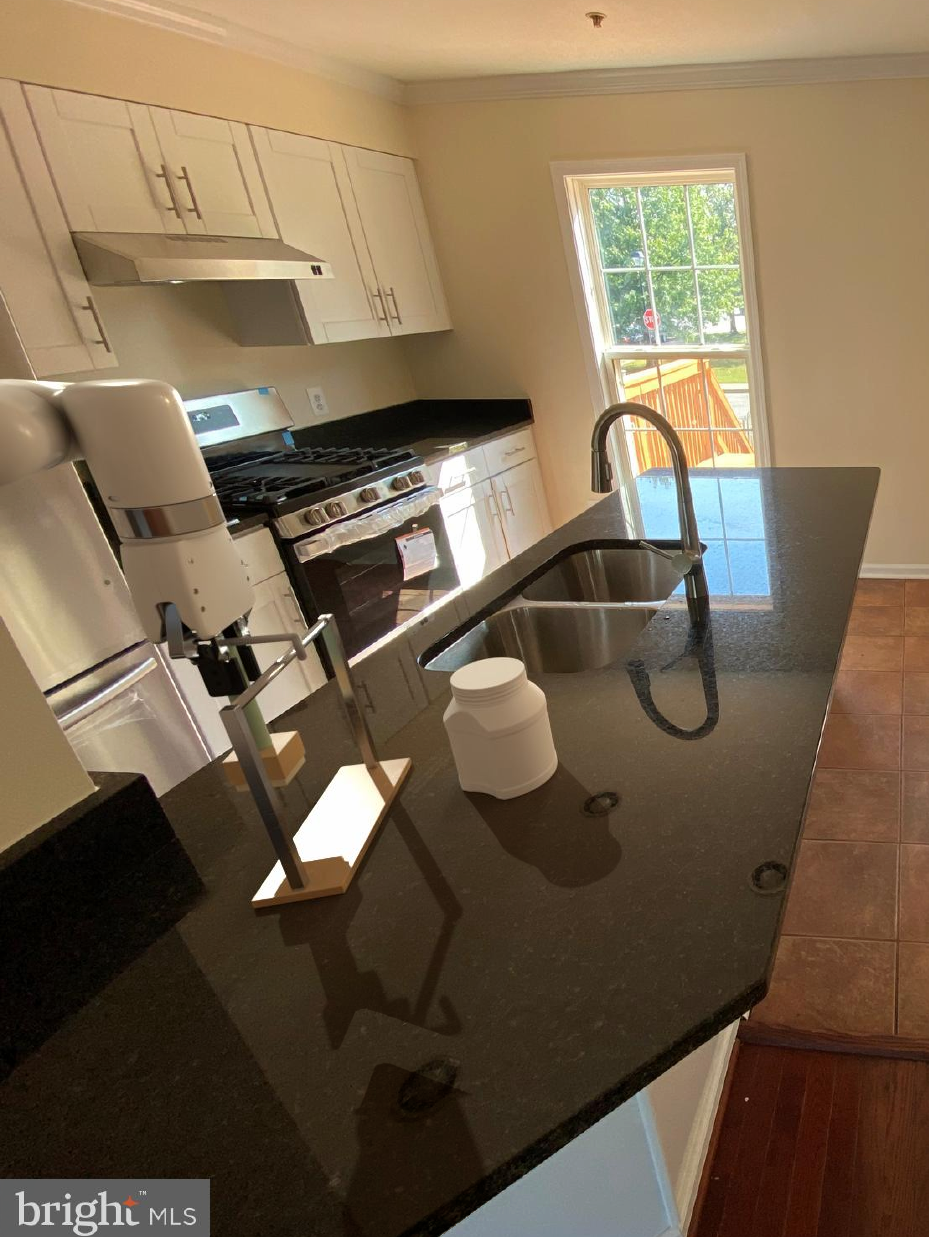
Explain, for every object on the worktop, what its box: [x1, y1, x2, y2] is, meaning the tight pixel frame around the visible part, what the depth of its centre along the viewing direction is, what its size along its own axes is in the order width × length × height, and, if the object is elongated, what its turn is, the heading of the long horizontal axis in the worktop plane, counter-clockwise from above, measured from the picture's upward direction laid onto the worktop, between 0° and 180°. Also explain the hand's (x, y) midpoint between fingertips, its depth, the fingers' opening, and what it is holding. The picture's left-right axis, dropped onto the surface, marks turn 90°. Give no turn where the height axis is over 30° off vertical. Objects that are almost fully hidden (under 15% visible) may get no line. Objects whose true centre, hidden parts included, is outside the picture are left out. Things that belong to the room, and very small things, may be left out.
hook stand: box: [208, 632, 308, 793], centre depth 74 cm, size 9×5×17 cm, turn 105°
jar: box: [442, 656, 559, 801], centre depth 88 cm, size 12×10×15 cm
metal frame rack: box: [218, 613, 412, 909], centre depth 77 cm, size 8×23×22 cm, turn 15°
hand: (237, 686), depth 72 cm, fingers closed on hook stand
